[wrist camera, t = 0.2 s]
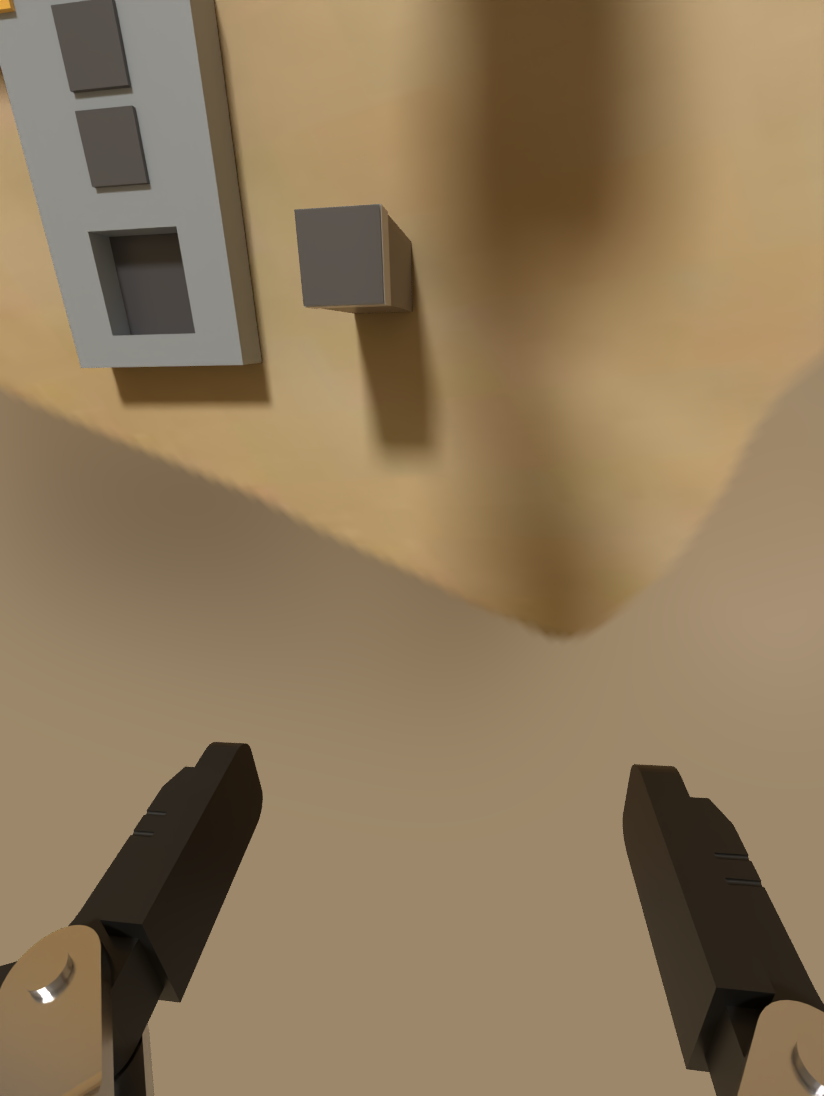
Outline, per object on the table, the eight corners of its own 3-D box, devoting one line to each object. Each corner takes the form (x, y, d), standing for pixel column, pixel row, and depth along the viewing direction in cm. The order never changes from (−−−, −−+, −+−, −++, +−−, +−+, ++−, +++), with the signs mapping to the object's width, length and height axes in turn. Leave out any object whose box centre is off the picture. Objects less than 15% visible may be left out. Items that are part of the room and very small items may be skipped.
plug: (348, 244, 32) (293, 208, 23) (411, 240, 32) (380, 202, 22) (353, 314, 34) (302, 307, 25) (413, 312, 33) (384, 303, 24)
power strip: (23, 8, 30) (-29, -29, 27) (211, -17, 28) (178, -59, 25) (110, 365, 38) (77, 368, 35) (262, 362, 36) (241, 365, 33)
